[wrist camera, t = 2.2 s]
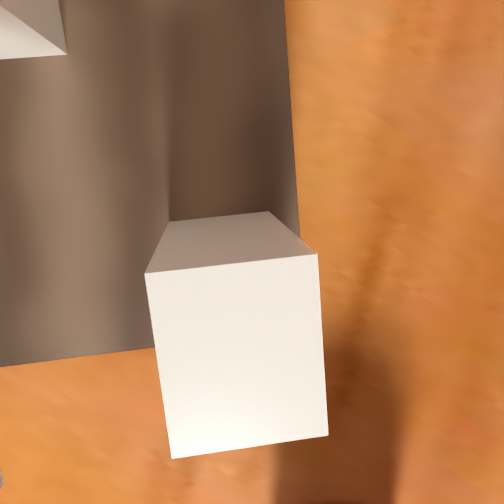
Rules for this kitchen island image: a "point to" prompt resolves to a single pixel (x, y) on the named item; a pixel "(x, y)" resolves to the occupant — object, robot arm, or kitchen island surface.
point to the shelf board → (132, 160)
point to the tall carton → (237, 334)
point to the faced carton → (31, 29)
